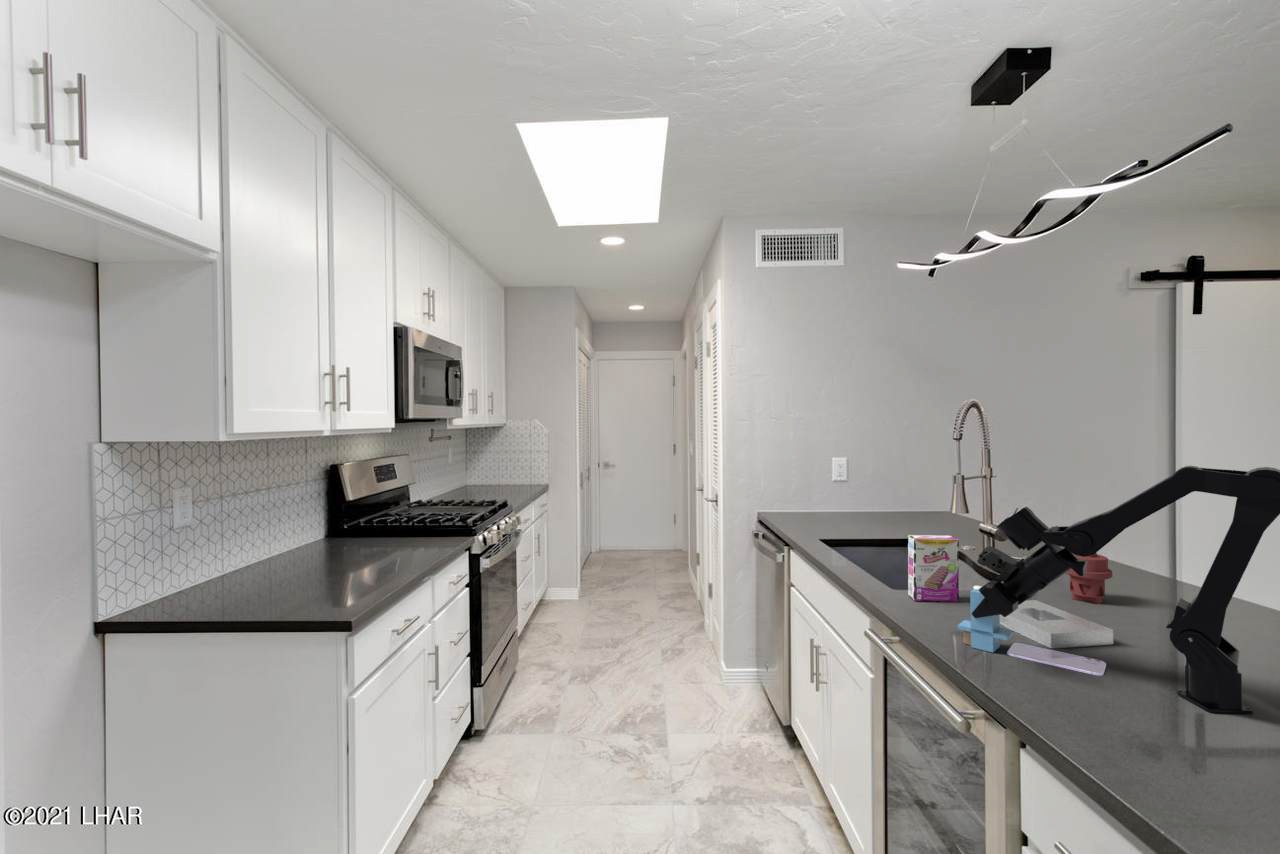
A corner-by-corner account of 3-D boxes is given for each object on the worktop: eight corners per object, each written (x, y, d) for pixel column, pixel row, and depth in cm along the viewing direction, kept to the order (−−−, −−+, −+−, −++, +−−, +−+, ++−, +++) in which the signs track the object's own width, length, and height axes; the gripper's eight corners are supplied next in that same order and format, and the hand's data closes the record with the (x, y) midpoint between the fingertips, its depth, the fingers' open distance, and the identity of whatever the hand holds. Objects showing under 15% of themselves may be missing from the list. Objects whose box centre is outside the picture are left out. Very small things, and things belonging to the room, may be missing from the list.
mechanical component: (1121, 607, 139) (1072, 604, 142) (1101, 595, 149) (1056, 592, 152) (1120, 557, 139) (1072, 555, 142) (1100, 548, 149) (1055, 546, 152)
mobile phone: (1013, 640, 119) (1106, 660, 108) (1013, 645, 119) (1106, 665, 108) (1005, 651, 113) (1102, 673, 103) (1005, 656, 113) (1102, 678, 103)
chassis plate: (1113, 644, 117) (1113, 629, 117) (1051, 648, 116) (1050, 633, 116) (1035, 612, 137) (1035, 600, 137) (981, 615, 135) (981, 603, 135)
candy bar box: (914, 602, 146) (913, 538, 146) (907, 596, 151) (906, 534, 151) (960, 602, 145) (959, 538, 145) (951, 596, 150) (951, 534, 150)
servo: (1014, 649, 115) (1013, 590, 115) (1007, 656, 112) (1006, 594, 112) (965, 638, 122) (964, 581, 122) (957, 643, 119) (956, 585, 119)
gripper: (1019, 529, 120) (962, 572, 128) (990, 542, 108) (930, 589, 116) (1065, 573, 114) (1003, 615, 123) (1041, 593, 102) (973, 638, 110)
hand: (977, 613), depth 118 cm, fingers closed on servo, 4 cm apart
